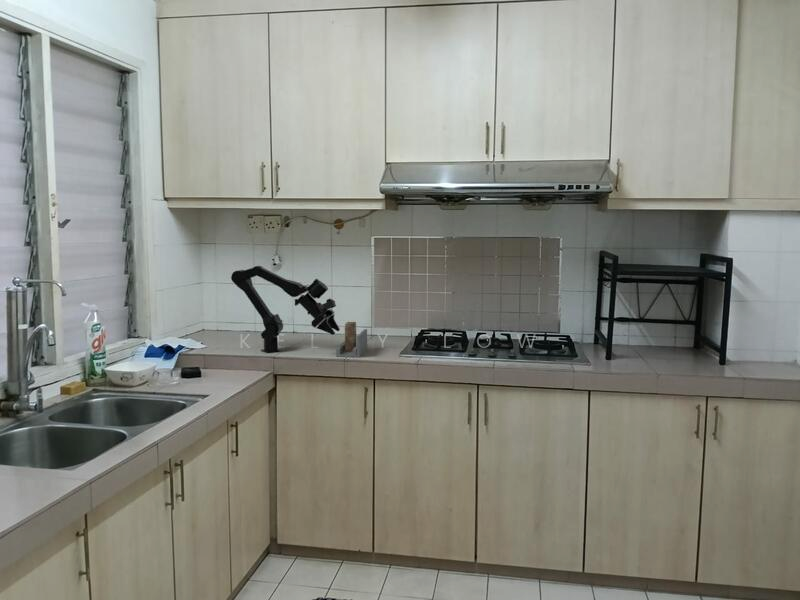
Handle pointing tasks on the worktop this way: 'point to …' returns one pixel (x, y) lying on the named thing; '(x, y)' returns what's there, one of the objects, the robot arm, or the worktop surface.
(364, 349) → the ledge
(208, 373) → the worktop surface
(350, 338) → the brown wooden block
